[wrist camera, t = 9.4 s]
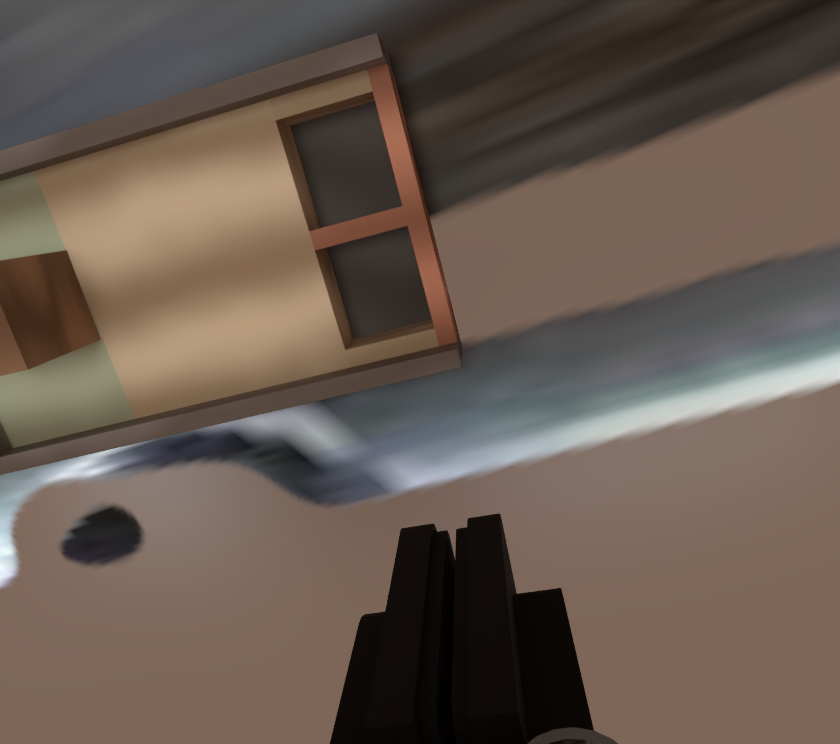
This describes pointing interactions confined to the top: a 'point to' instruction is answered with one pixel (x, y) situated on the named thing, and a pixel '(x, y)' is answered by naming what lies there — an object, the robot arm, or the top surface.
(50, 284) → the walnut block
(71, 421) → the box
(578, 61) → the top surface
